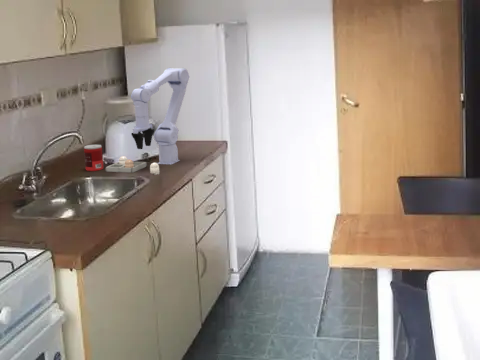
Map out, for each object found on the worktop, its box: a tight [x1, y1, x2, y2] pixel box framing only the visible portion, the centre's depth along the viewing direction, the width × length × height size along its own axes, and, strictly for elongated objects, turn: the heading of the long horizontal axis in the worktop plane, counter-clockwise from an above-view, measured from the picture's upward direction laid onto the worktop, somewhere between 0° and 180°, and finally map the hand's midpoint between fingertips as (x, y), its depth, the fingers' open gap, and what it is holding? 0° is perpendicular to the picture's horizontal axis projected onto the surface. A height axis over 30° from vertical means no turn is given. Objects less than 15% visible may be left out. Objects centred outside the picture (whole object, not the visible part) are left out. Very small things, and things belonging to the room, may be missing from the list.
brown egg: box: [125, 158, 134, 168], centre depth 294 cm, size 4×4×5 cm
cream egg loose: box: [149, 162, 160, 176], centre depth 289 cm, size 4×4×5 cm
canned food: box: [83, 144, 104, 172], centre depth 299 cm, size 8×8×11 cm
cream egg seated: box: [118, 155, 129, 164], centre depth 302 cm, size 4×4×5 cm
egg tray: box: [105, 161, 148, 174], centre depth 298 cm, size 13×13×2 cm
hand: (144, 147), depth 296 cm, fingers open, 7 cm apart
